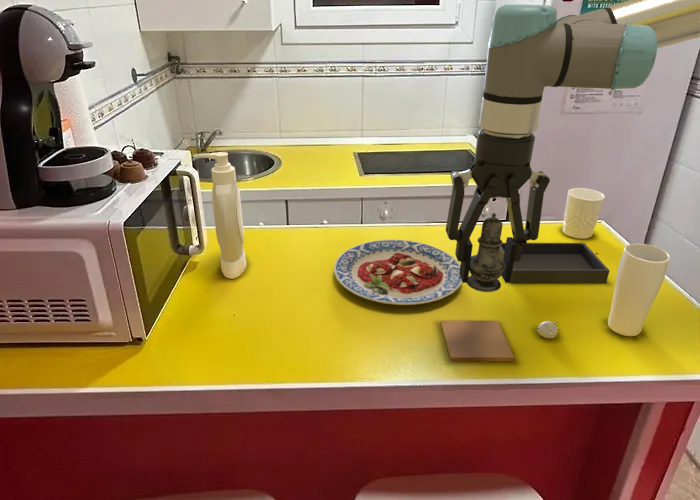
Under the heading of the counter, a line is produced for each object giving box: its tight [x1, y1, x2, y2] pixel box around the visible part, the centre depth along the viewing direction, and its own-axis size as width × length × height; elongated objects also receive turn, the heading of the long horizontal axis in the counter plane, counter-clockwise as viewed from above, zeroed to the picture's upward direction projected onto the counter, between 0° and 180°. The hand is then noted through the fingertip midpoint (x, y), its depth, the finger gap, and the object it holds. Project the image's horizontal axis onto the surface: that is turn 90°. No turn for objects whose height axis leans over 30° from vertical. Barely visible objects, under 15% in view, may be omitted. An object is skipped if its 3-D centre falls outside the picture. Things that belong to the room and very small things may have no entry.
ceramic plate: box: [333, 239, 463, 306], centre depth 104 cm, size 26×26×3 cm
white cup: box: [561, 187, 606, 240], centre depth 122 cm, size 8×8×10 cm
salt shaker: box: [466, 212, 506, 293], centre depth 78 cm, size 6×6×12 cm
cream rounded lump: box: [535, 320, 561, 339], centre depth 88 cm, size 3×4×3 cm
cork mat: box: [440, 320, 515, 362], centre depth 86 cm, size 10×10×1 cm
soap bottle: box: [193, 151, 248, 280], centre depth 102 cm, size 13×8×24 cm, turn 7°
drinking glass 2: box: [607, 242, 671, 337], centre depth 87 cm, size 7×7×15 cm
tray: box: [498, 242, 611, 284], centre depth 108 cm, size 19×12×3 cm, turn 91°
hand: (484, 278), depth 81 cm, fingers closed on salt shaker, 6 cm apart
